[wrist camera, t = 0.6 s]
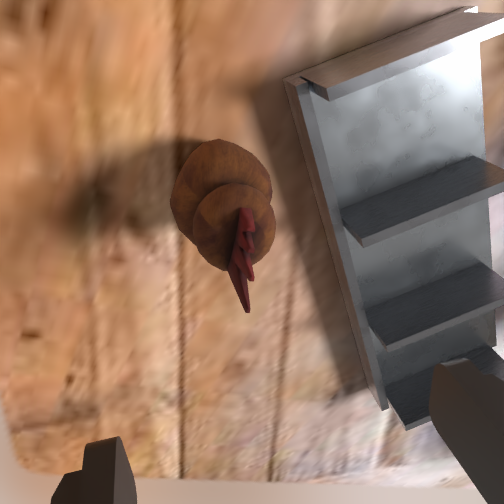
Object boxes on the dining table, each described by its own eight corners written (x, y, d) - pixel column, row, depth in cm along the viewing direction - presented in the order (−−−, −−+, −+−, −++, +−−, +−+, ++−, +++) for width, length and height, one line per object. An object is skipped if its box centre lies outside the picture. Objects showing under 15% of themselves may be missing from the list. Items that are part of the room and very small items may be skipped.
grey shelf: (466, 6, 33) (530, 7, 28) (489, 338, 50) (531, 379, 45) (282, 78, 32) (310, 94, 27) (368, 388, 50) (396, 435, 44)
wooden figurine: (221, 226, 37) (266, 350, 24) (155, 194, 35) (166, 312, 22) (268, 153, 35) (344, 246, 22) (201, 114, 32) (243, 191, 20)
